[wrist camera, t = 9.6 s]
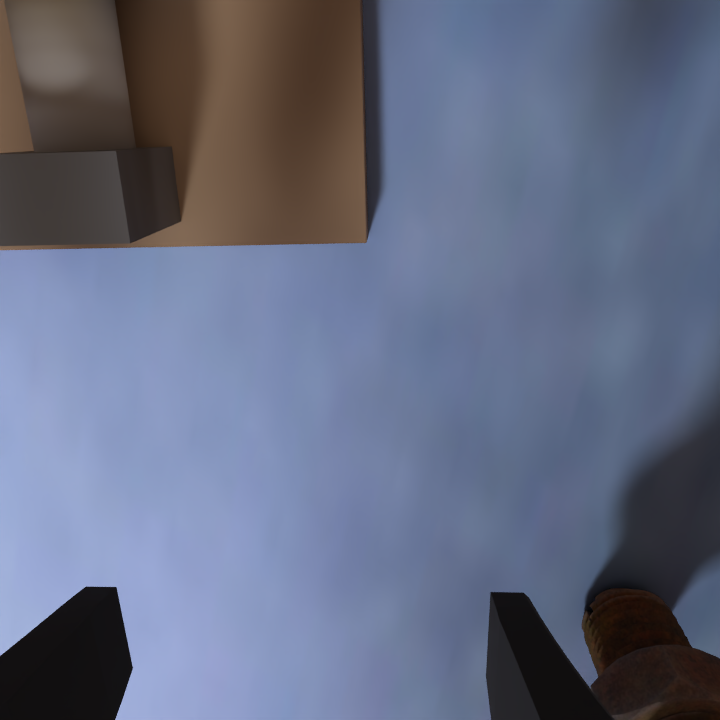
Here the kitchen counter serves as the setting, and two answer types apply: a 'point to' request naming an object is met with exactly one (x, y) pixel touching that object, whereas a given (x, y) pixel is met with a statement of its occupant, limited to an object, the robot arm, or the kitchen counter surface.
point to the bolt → (648, 660)
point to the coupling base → (181, 123)
